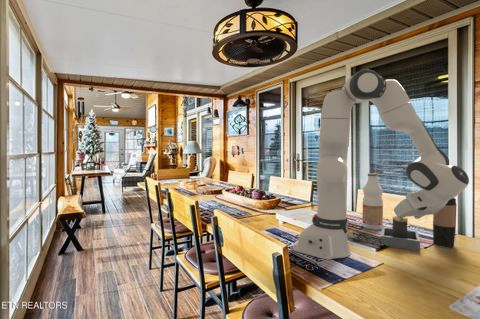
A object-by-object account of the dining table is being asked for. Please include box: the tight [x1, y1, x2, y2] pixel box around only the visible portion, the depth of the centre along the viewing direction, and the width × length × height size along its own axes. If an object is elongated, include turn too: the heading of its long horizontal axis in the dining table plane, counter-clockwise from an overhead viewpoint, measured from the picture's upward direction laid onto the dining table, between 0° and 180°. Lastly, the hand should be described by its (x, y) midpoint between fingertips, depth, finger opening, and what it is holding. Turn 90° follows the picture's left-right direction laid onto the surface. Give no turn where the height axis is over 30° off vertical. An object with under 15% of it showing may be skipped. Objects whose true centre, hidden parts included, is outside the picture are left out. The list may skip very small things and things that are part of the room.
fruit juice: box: [362, 172, 384, 231], centre depth 141 cm, size 9×9×28 cm
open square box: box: [380, 226, 421, 252], centre depth 119 cm, size 14×14×4 cm
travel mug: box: [432, 197, 457, 249], centre depth 116 cm, size 8×8×20 cm
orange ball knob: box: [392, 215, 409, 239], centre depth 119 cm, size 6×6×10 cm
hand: (407, 218), depth 115 cm, fingers open, 8 cm apart
